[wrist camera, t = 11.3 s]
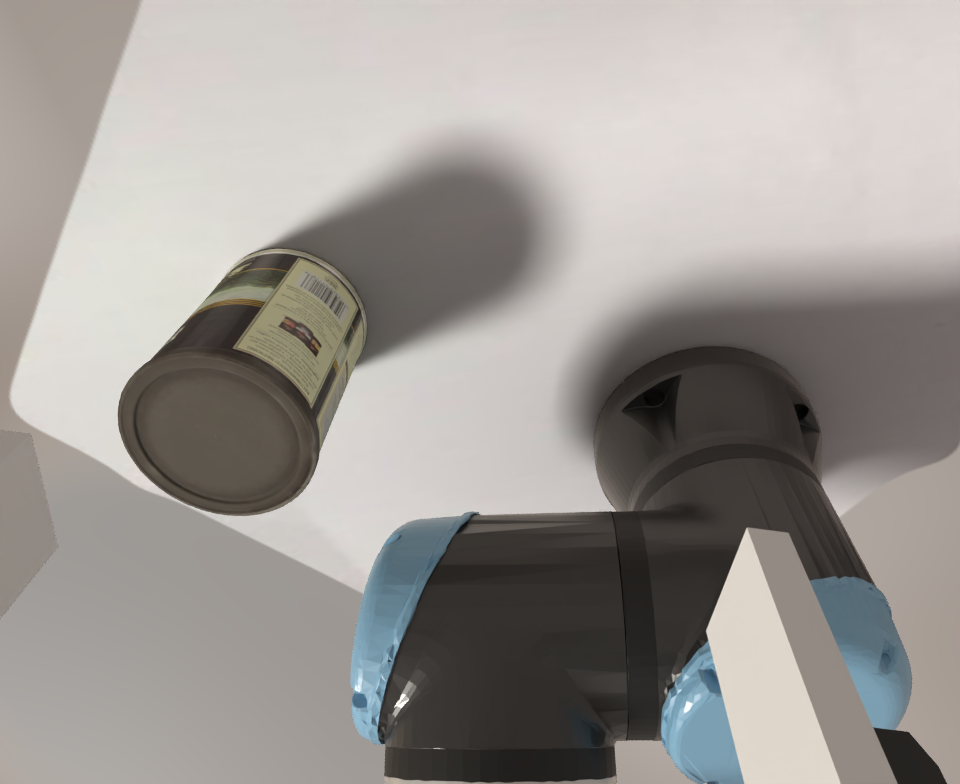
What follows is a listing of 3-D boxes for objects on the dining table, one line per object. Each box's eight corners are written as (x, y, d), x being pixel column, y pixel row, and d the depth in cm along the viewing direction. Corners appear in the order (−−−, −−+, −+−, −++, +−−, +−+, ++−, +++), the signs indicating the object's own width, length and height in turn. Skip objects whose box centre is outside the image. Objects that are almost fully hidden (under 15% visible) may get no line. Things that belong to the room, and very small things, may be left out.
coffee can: (207, 359, 52) (109, 485, 40) (229, 225, 47) (124, 324, 35) (349, 404, 53) (295, 539, 41) (386, 278, 48) (336, 392, 36)
